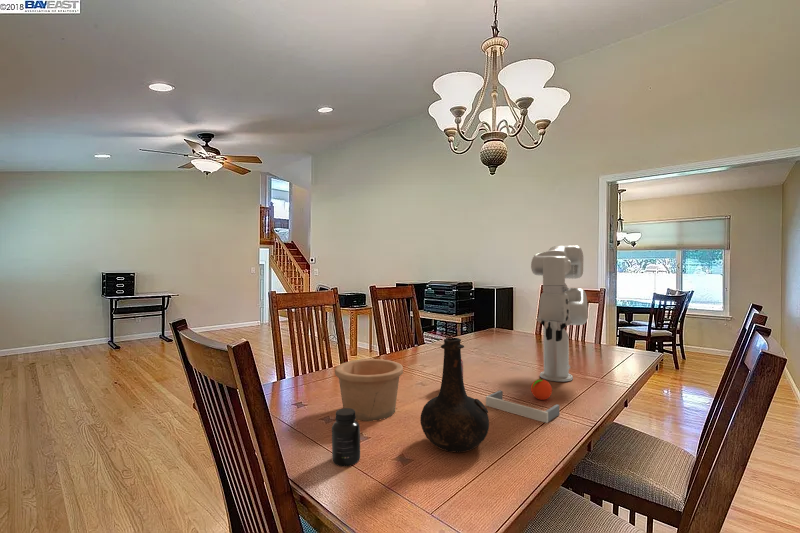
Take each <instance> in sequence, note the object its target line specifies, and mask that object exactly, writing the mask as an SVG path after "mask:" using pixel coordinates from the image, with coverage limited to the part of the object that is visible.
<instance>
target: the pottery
mask: <svg viewBox="0 0 800 533" xmlns="http://www.w3.org/2000/svg"><path fill="white" fill-rule="evenodd" d="M403 373H404V366H403V364H401V363H399V362H397V361H393V360H390V359H389V360H388V359H381V358H367V359H366V358H364V359H356V360H350V361H346V362H343V363H340V364H338V365H336V367H335V368H334V375H335V376H336V377H337V378H338V383H339V389H340V397H341V402H342V403H341V404H342V409H343V408H351V409H354V410H355V416H356V421H358V420H363V421H362V422H374V421H373V420H377V421H381V420H385V419H387V417H388V418H390V417H392V416H393V415H394V414H395V413H396V407H397V400H398V399H397V397H398V391H399V390H398V389H399V383H400V377H401V375H403ZM389 416H390V417H389ZM384 418H385V419H384ZM380 419H381V420H380Z"/></svg>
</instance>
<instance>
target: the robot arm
mask: <svg viewBox="0 0 800 533" xmlns="http://www.w3.org/2000/svg"><path fill="white" fill-rule="evenodd" d="M530 269H531V272H532V274H534V275H536V276H542V293H541V294H540V298H539V305H538V306H539V307H538V315H537V317H536V322H538V323H540V324H541V325H542V326H543V327H542V328H543V371H541V372H540V373H539V377H540V379H544V380H546V381H550V382H556V383H557V382H559V383H561V382H563V383H566V382H570V381H572V380H573V379H574V377H573V375H572V374H571V373H569V371H570V369H571V365H570V364H569V363H570V362H569V360H570V358H569V356H570V354H569V340H570V339H569V338H570V336H569V334H568V332H567V330H566V329H565V328H566V327H567V326H583V325H585V324H586V323H587V321H588V319H589V318H588V317H589V308H588V307H589V306H588V297H587V293H586V291H585V289H583V288H580V287H579V288H578V287H568V285H567V283H566V279H572V280H573V279H580V278H581V277H582V276H583V274H584V253H583V250H582V248H581V247H580V246H579V245H555V246H552V247H550V248H549V249H548V250H546V251H542V252H539V253H535V254H534V255H533V257H532V259H531V263H530Z"/></svg>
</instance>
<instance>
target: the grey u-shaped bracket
mask: <svg viewBox="0 0 800 533" xmlns="http://www.w3.org/2000/svg"><path fill="white" fill-rule="evenodd" d="M503 393H504V392H503V390H500V389H499V390H498V391H496V392H495V391H494V392H493V393H491V394H489V395H486V396H485V407H489V408H493V409H498V410H500V411H504V412H507V413H510V414H513V415H514V414H515V415H518V416H522V417H523V418H524V417H525V418H527V419H531V420H535V421H538V422H542V423H546V424H548V423H549V422H551V421H553V419H555V418H557V417H558V416H560V404H555V405H553V406H551V407H550V408H548V409H547V410H542V409H538V408H534V407H531V406H528V405H524V404H520V403H517V402H512V401H509V400H504V399H503V397H504V396H503Z"/></svg>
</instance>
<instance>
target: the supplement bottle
mask: <svg viewBox="0 0 800 533" xmlns="http://www.w3.org/2000/svg"><path fill="white" fill-rule="evenodd" d="M334 418H335V421H334V423H333V424H332V426H331V457H332V458H331V459H332V462H333V464H335V465H337V466H338V465H339V466H338V467H351V466H354V465H356V464H357V463H358V462H359V461H360V459H361V427H360V426H361V425H360V423H359V421H358V420H355V419H356V416H355V410H354V409H351V408H343V407H342V408H340V409H338V410H336V411H335V417H334ZM355 463H356V464H355ZM353 464H354V465H353ZM350 465H351V466H350Z"/></svg>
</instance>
